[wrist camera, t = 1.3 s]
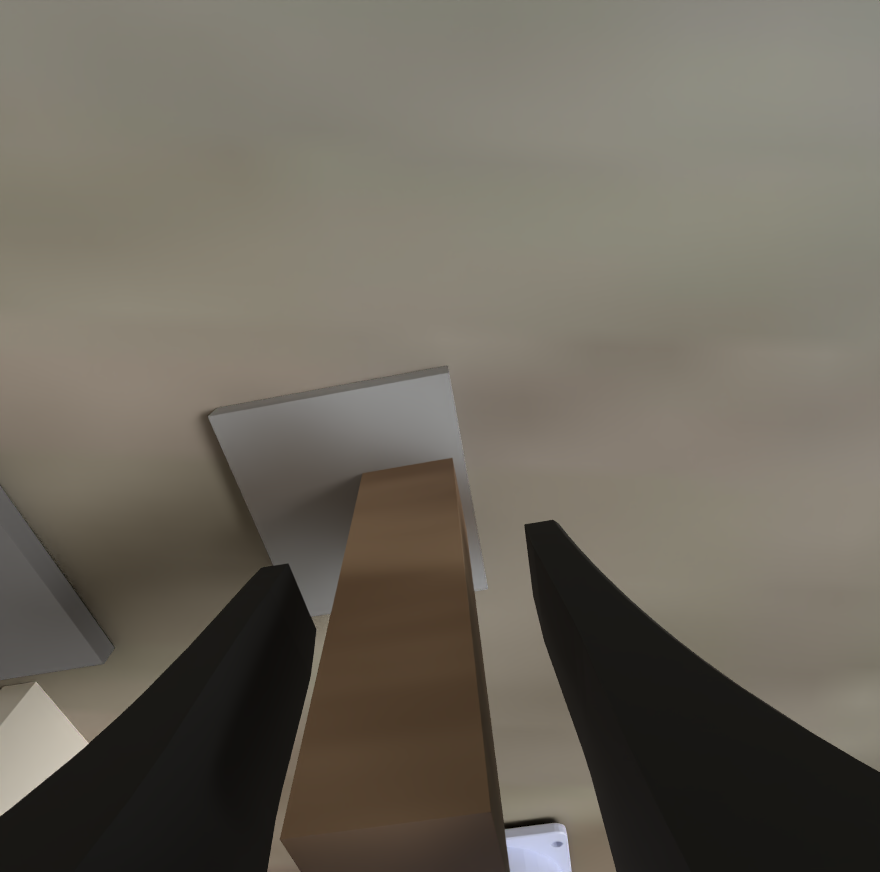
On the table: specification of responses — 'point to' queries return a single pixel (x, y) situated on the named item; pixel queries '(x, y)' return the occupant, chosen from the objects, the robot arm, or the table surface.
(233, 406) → the turner
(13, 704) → the tile
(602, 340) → the table surface
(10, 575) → the mat
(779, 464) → the table surface
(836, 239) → the table surface
